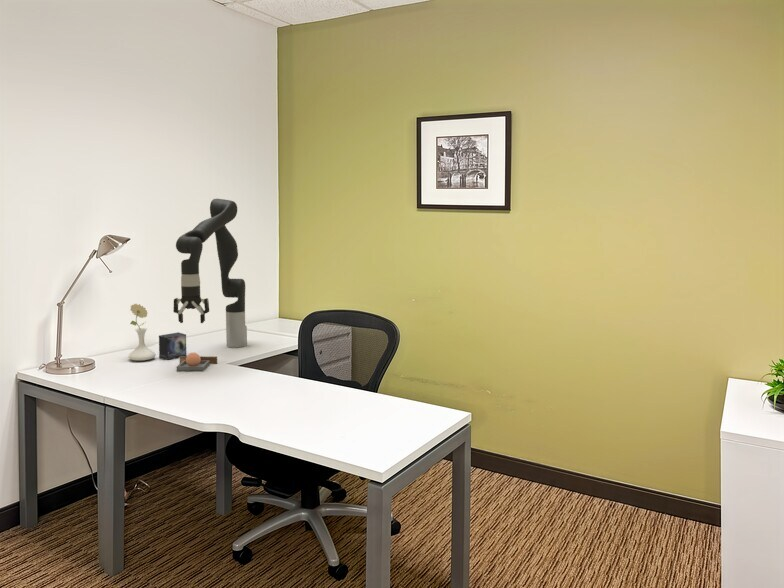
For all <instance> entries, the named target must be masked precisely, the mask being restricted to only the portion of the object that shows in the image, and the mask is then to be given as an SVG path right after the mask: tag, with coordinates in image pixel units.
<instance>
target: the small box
mask: <svg viewBox="0 0 784 588" xmlns="http://www.w3.org/2000/svg"><path fill="white" fill-rule="evenodd" d="M158 351H159V352H158V353H159V355H158V358H159V359H162V360H166V361H168V360H173V359H178V358H179V357H180V356H187V355H188V354H187V334H185V333H182V332H179V331H178V332H172V333H166V334H161V335H158Z"/></svg>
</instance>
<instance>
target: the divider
mask: <svg viewBox="0 0 784 588" xmlns="http://www.w3.org/2000/svg"><path fill="white" fill-rule="evenodd" d="M199 356H200V358H201V360H210V365H217V364H218V356H202V355H199ZM186 357H187V356H180V357H179V364H180V363H181V362H183V361H184V360H186Z"/></svg>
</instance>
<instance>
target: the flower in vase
mask: <svg viewBox="0 0 784 588" xmlns="http://www.w3.org/2000/svg"><path fill="white" fill-rule="evenodd" d="M129 311H131V312H132V314H133V315H135V321H134V320H131V322H130V324H129V325H132V326H137V327H138V328H135V331H136V333H137V336H138V346H137V347H136V348H134V349H133V350H132V351H131V352H130V353H129V354H128V359H130V360H132V361H136V362H138V361H148V360H152V359H154V358H155V357H157V354H156V353H155V352H154V351H153V350H152V349H151V348H149V347H148V346H146V343H145V336H146V335H145V334H146V332H147V330H148V328H146V327H143V328H142V327H140V326H143V325H145V322H143V323H141V324H140V325H139V324H138V321H137V320H138V317H139V318H141V319H143V318H146V317H148V310H146V307H144V306H143V305H141V304H138V303H133V304H131V305H130V310H129Z"/></svg>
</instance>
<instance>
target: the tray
mask: <svg viewBox="0 0 784 588" xmlns="http://www.w3.org/2000/svg"><path fill="white" fill-rule="evenodd" d="M210 365H211V364H210V360H201V361H200V363H199V365H197V366H189V365H187V363H186V360H184V361H183V362H181V363H180V362H179V364H178V365H177V366H176V367H175V369H176V372H204V371H205V370H206V369H207V368H208V367H210Z"/></svg>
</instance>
